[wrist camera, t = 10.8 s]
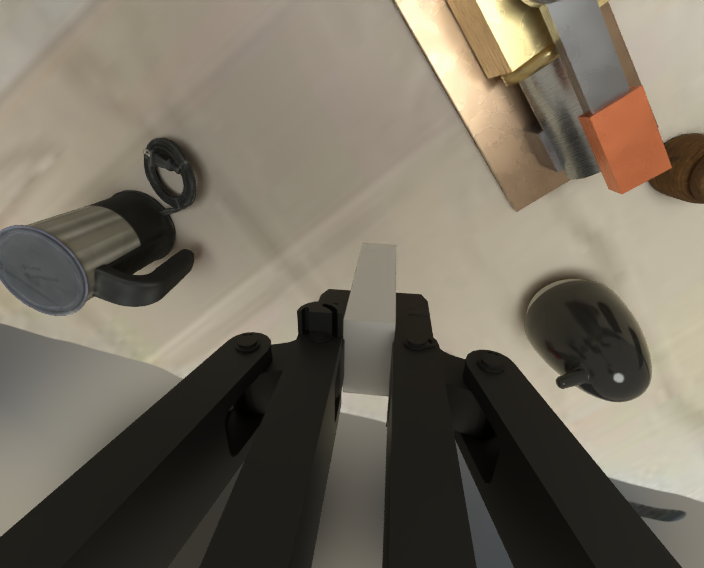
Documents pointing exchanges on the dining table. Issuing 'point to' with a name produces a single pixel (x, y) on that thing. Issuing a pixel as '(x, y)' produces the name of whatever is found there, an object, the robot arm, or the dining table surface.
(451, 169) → the dining table surface
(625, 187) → the valve lever
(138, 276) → the milk frother
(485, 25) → the valve manifold
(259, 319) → the dining table surface
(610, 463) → the dining table surface
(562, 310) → the pump dispenser
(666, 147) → the utensil holder
